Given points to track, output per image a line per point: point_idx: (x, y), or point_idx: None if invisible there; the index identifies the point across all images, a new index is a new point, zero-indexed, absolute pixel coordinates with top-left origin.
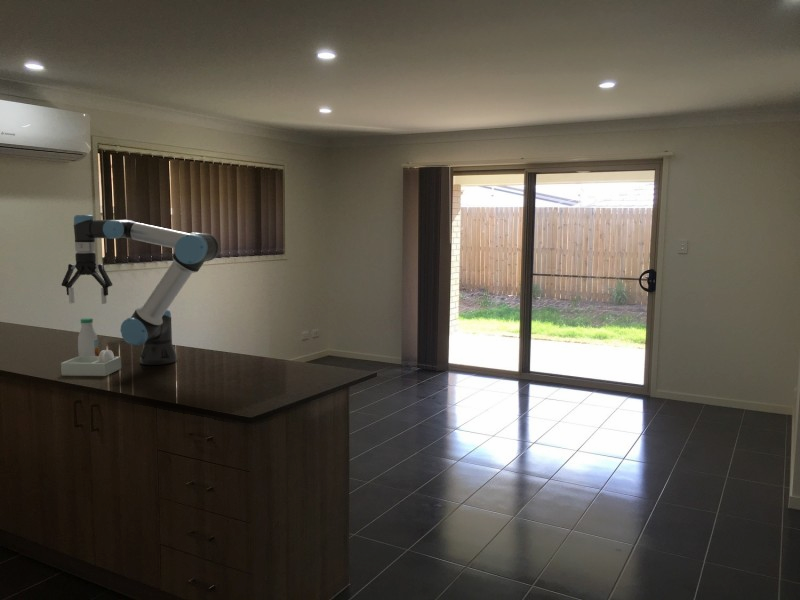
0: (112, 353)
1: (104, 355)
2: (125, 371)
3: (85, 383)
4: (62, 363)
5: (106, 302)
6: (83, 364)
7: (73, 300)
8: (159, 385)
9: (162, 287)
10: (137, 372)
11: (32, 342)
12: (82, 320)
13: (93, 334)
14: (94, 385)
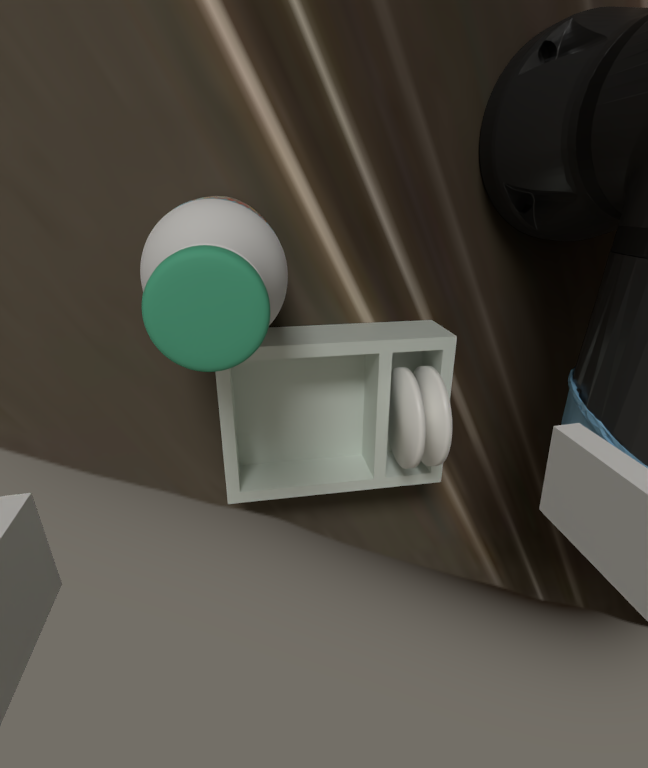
0: (444, 392)
1: (435, 465)
2: (470, 370)
3: (395, 551)
4: (235, 501)
5: (584, 426)
6: (340, 489)
7: (21, 545)
8: None
9: None
10: (525, 381)
11: None
12: (197, 369)
13: (281, 301)
14: (437, 565)
